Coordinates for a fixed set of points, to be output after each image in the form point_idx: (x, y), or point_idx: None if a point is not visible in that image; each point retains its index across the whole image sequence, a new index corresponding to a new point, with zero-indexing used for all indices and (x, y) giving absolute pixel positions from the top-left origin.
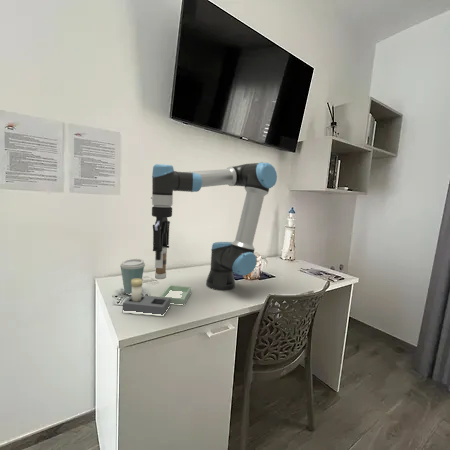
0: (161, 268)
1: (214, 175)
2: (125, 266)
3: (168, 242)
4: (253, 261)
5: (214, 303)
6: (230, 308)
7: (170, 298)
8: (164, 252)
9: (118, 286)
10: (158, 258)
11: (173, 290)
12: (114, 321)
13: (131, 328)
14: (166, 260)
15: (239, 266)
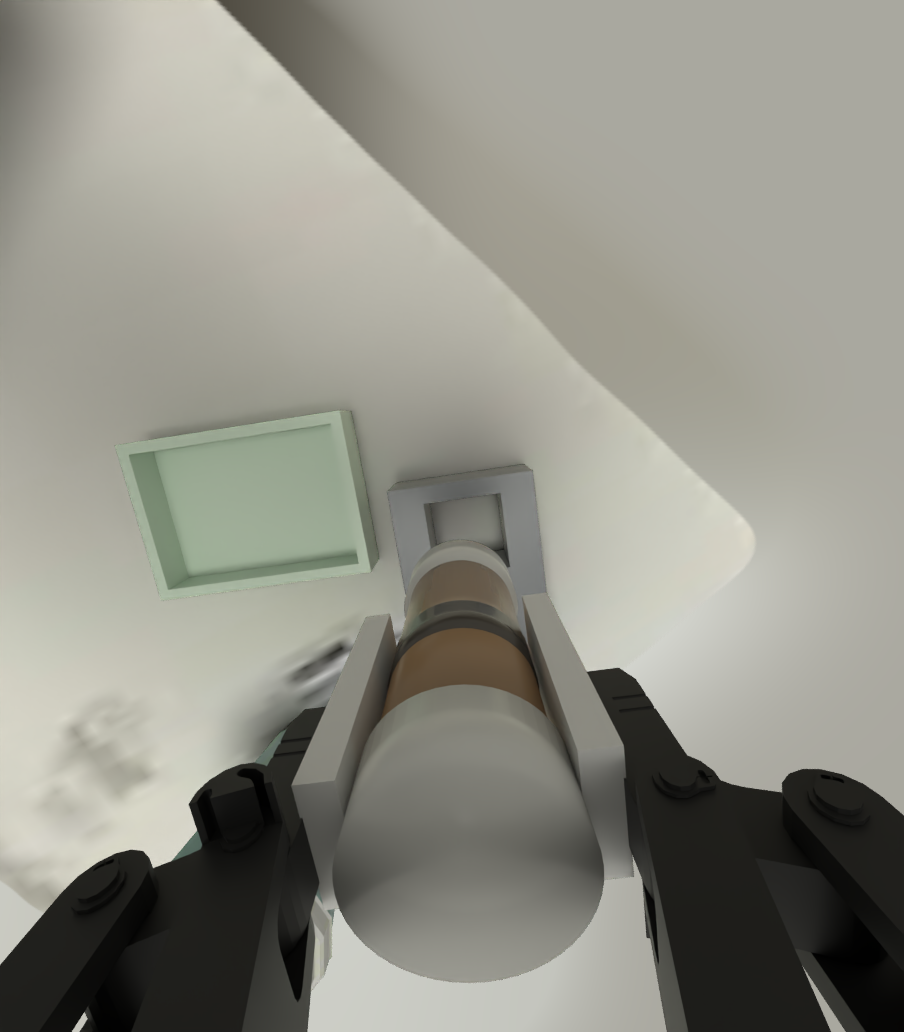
0: (510, 607)
1: None
2: (322, 959)
3: (49, 931)
4: None
5: (223, 226)
6: (246, 83)
7: (357, 501)
8: (521, 711)
9: None
10: (638, 700)
11: (181, 558)
12: (636, 657)
13: (675, 553)
14: (355, 641)
15: None
